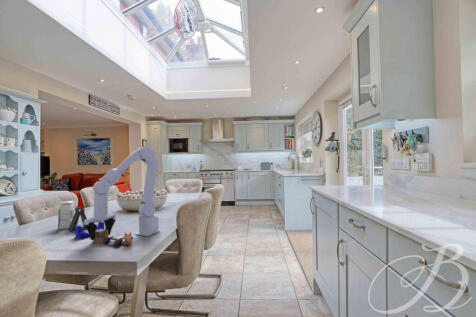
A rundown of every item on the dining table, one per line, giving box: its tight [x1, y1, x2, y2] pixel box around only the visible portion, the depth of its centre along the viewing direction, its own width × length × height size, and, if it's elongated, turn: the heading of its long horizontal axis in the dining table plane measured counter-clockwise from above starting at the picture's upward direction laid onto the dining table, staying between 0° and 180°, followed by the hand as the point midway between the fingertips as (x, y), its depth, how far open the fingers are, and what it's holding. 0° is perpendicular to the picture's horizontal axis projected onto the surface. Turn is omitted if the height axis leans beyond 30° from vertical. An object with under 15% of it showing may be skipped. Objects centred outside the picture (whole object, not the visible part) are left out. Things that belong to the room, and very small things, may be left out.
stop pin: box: [121, 231, 132, 247], centre depth 109 cm, size 3×8×5 cm, turn 66°
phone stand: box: [68, 206, 88, 233], centre depth 135 cm, size 9×6×12 cm, turn 137°
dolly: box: [102, 233, 134, 248], centre depth 110 cm, size 9×8×3 cm
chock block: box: [92, 228, 109, 244], centre depth 113 cm, size 4×5×5 cm
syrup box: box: [57, 200, 75, 230], centre depth 138 cm, size 6×6×14 cm
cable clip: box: [74, 221, 105, 240], centre depth 122 cm, size 12×4×6 cm, turn 141°
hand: (100, 237), depth 113 cm, fingers open, 7 cm apart
